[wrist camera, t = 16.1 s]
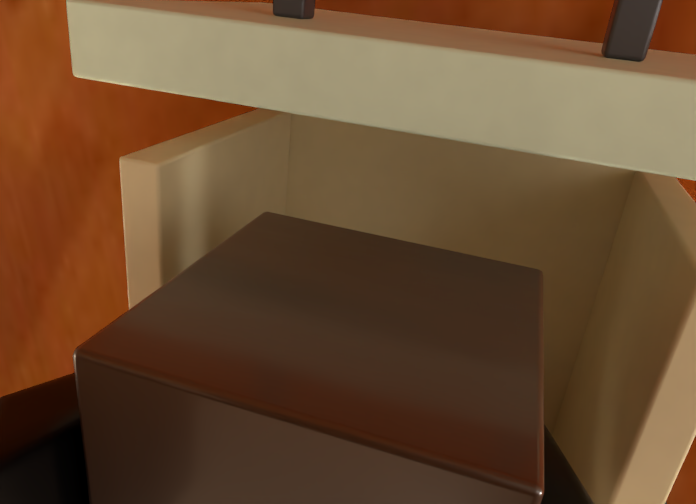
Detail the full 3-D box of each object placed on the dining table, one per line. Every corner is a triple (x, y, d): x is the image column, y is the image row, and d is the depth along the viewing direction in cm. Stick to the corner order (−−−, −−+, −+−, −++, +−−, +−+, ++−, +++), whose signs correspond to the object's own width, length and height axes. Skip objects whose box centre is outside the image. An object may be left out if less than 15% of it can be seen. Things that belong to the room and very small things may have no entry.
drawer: (272, -277, 13) (11, -555, 7) (854, -277, 10) (1358, -736, 4) (248, 383, 20) (115, 553, 14) (582, 479, 18) (605, 740, 12)
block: (484, 492, 10) (448, 791, 6) (254, 422, 11) (102, 642, 7) (544, 268, 9) (547, 491, 5) (265, 209, 10) (67, 349, 6)
